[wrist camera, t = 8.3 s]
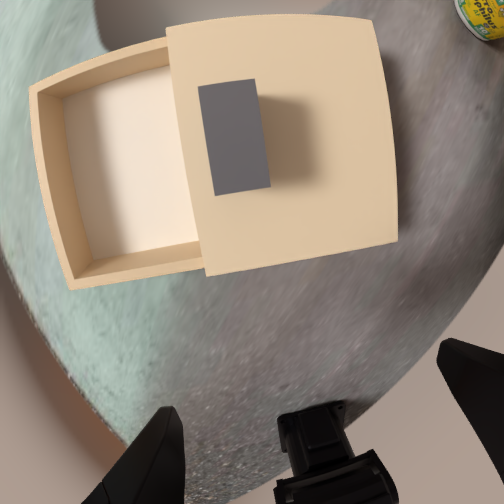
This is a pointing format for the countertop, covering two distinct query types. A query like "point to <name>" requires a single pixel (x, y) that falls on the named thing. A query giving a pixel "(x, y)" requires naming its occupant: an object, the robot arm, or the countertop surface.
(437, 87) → the countertop surface
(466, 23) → the supplement bottle
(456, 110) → the countertop surface
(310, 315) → the countertop surface
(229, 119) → the carton lid
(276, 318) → the countertop surface
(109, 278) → the carton
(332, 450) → the robot arm
